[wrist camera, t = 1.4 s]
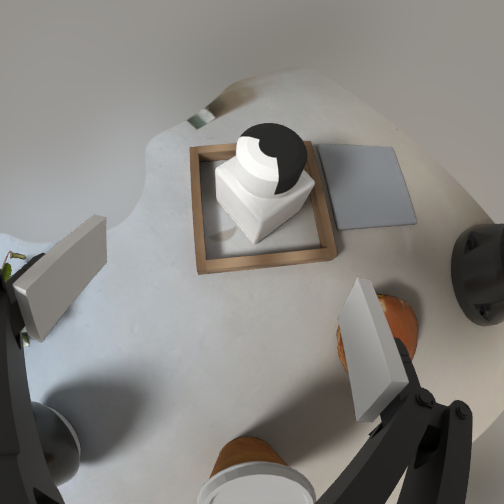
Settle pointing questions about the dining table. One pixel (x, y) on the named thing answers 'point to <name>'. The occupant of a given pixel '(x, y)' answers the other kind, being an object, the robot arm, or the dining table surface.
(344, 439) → the dining table surface
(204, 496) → the disposable coffee cup
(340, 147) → the slate mat
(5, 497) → the robot arm
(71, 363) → the dining table surface
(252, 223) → the medicine bottle
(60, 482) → the grey egg-shaped container
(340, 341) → the burger
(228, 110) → the dining table surface
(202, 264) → the walnut caddy
